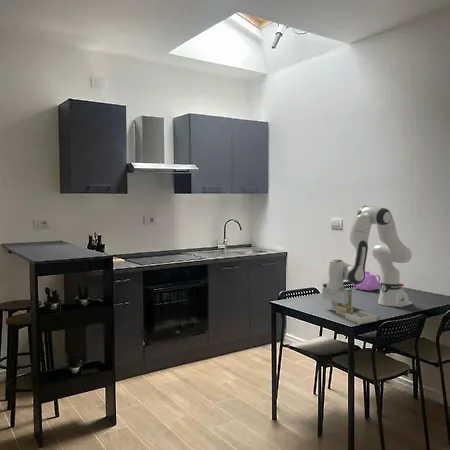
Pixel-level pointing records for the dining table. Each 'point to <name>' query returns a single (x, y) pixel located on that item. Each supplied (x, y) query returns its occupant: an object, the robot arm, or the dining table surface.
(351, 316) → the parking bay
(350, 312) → the cart block
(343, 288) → the chalk box
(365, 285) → the teapot
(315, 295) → the dining table surface
